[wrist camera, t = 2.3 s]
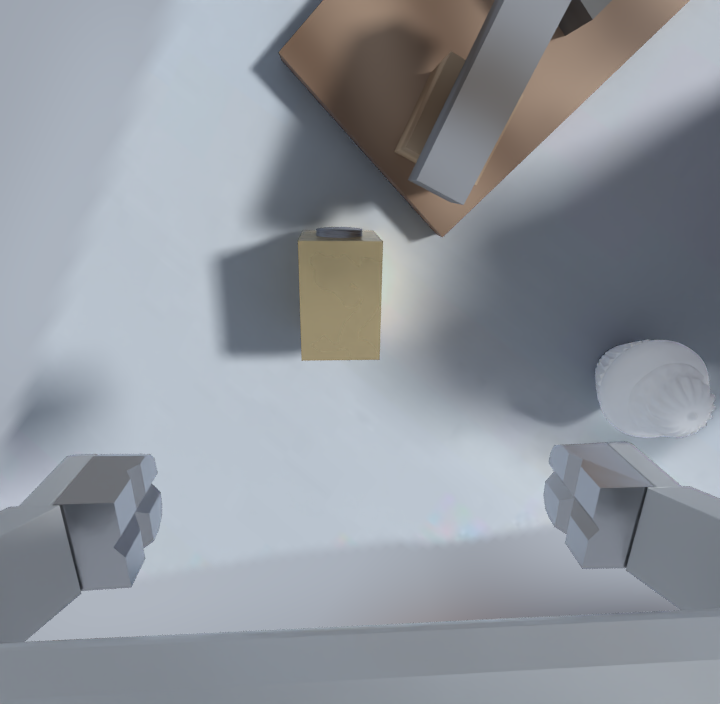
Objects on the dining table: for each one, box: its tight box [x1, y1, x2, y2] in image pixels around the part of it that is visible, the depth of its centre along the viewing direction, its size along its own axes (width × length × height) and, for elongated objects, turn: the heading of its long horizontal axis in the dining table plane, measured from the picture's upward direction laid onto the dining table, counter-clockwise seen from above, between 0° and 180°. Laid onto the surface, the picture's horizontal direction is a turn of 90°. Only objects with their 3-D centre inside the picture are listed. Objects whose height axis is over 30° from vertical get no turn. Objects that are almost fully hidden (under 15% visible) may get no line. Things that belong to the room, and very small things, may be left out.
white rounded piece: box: [595, 339, 716, 438], centre depth 27 cm, size 6×6×7 cm
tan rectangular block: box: [298, 227, 383, 361], centre depth 25 cm, size 7×4×5 cm, turn 179°
